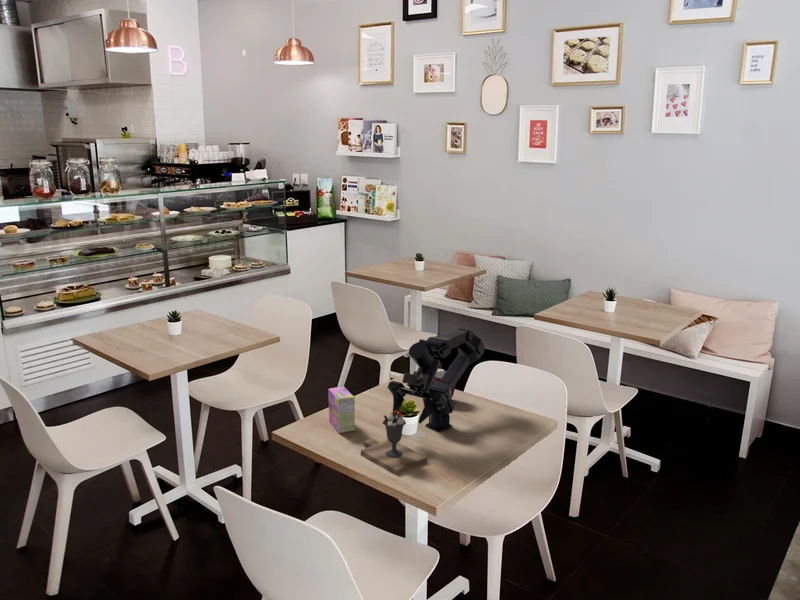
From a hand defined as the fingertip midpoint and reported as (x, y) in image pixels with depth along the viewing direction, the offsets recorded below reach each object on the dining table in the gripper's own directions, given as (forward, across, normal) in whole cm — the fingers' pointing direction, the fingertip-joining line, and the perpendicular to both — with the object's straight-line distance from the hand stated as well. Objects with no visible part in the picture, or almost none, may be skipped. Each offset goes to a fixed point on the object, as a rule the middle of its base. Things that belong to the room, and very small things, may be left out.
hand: (406, 419), depth 200 cm
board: (+12, -2, +2) cm, 12 cm away
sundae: (+11, 0, +1) cm, 11 cm away
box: (+6, -26, +9) cm, 28 cm away
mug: (-20, -9, +35) cm, 41 cm away
